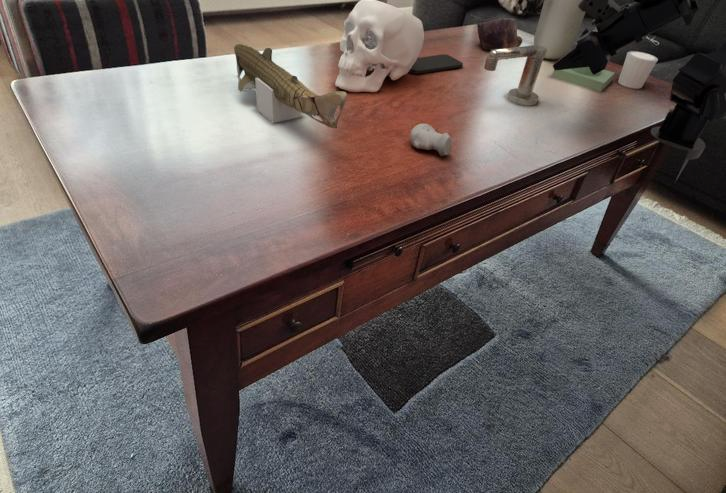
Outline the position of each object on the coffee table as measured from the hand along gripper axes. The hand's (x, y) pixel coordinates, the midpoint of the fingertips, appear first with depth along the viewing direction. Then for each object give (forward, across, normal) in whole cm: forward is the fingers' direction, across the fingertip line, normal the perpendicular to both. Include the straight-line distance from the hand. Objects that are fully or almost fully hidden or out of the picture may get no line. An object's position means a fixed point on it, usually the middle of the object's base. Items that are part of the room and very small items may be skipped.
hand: (554, 67), depth 90 cm
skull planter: (+33, +4, -18) cm, 37 cm away
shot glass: (-3, -38, +18) cm, 42 cm away
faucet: (+11, -9, +4) cm, 15 cm away
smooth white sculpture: (+17, +26, -2) cm, 31 cm away
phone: (+28, -14, -13) cm, 34 cm away
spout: (+8, -4, -4) cm, 10 cm away
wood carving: (+35, +31, -20) cm, 51 cm away
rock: (+22, -38, -7) cm, 44 cm away
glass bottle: (+13, -43, +3) cm, 45 cm away
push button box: (+5, -32, +10) cm, 34 cm away
